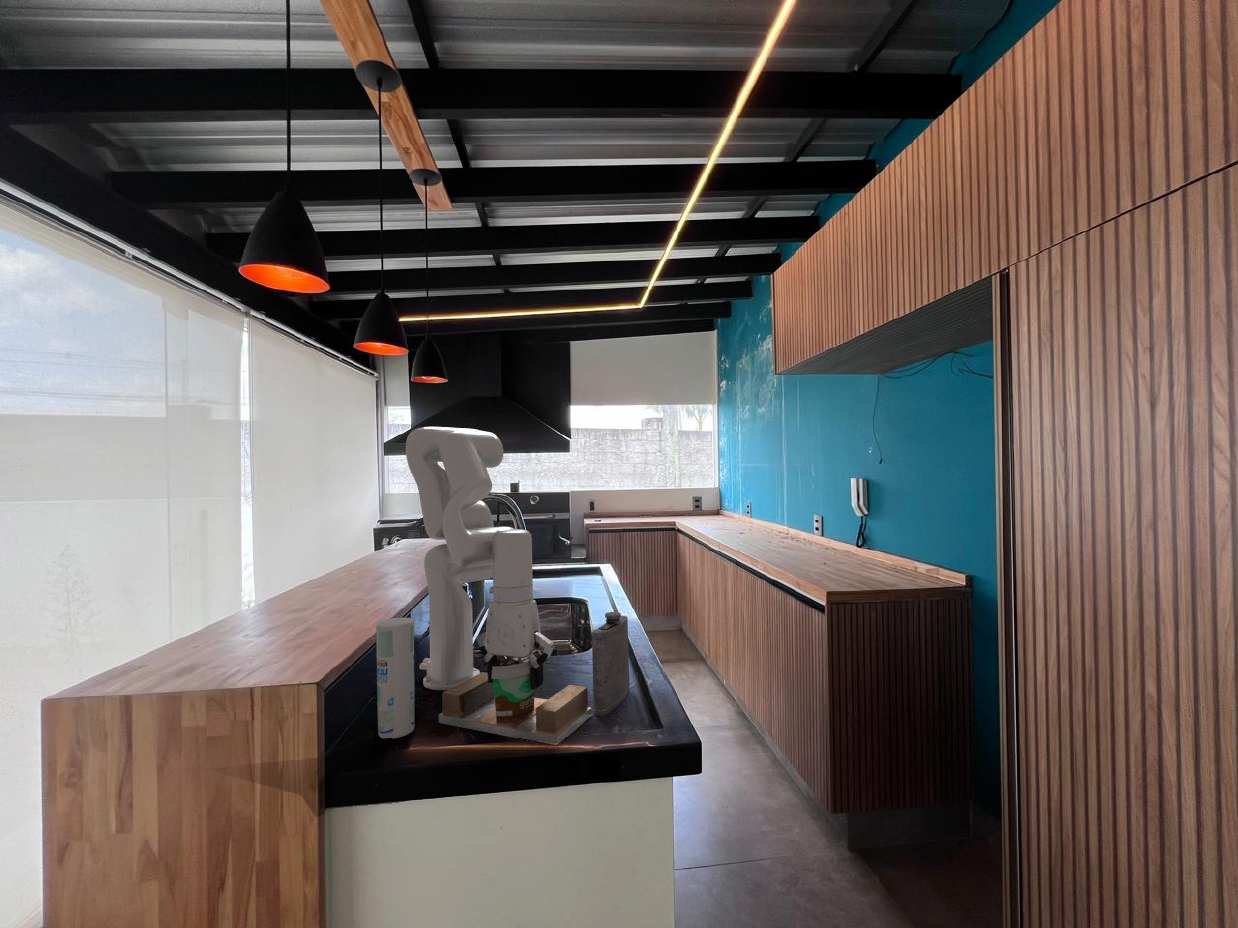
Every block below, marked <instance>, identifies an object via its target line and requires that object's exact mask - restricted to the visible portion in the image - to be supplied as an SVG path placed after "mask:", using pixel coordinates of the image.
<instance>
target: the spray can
mask: <svg viewBox="0 0 1238 928" xmlns="http://www.w3.org/2000/svg"><path fill="white" fill-rule="evenodd" d="M414 621H415V620H414V619H413V618H411V617H393V618H388V619H383V620H380V621H378V622H377V623H376V625H375V627H376V628H375V632H376V633H375V635H376V638H375V639H376V643H375V644H376V687H377V688H376V689H377V690H376V691H377V693H376V694H377V732H378V736H379V738H381V739H385V738H386V739H387V738H392V739H397V738H398V739H399V738H401V737H405V736H407V735H409V734H411V733H412V732H413V731H414V730H415V622H414ZM387 740H388V739H387Z"/></svg>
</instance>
